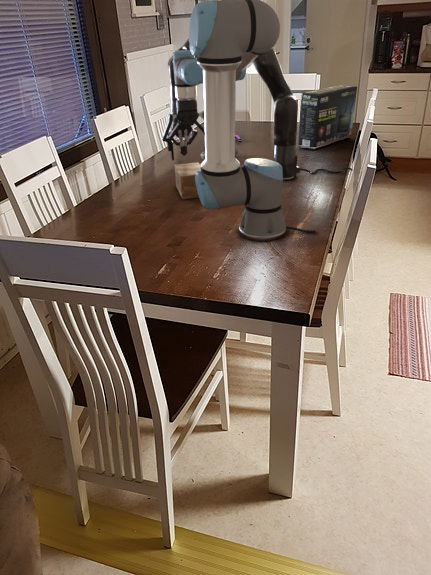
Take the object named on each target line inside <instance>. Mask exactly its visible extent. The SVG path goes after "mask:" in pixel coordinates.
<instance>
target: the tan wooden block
mask: <svg viewBox="0 0 431 575" xmlns="http://www.w3.org/2000/svg"><path fill="white" fill-rule="evenodd" d="M197 171H201V163H199V162H189V163H178V164H174V177H175V187H176V189H177V191H178V193H179V195H180V197H181V199H182V200H187V199H189V200H190V199H197V198H199V195H198V191H197V187H196V182H195V173H196V172H197Z"/></svg>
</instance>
